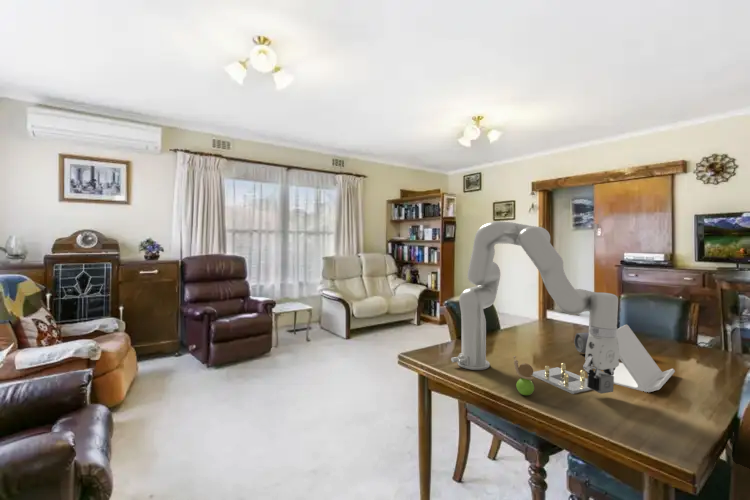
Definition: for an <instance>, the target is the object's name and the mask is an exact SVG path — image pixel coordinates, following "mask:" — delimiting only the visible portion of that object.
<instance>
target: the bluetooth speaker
mask: <svg viewBox="0 0 750 500" xmlns="http://www.w3.org/2000/svg"><path fill="white" fill-rule="evenodd" d="M588 336H589V332H577V333H575V336H574V340H573V343H574V346H575V349H576V351H577V352H579V353H583V354H586V346H587V340H588Z"/></svg>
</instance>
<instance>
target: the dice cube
mask: <svg viewBox="0 0 750 500" xmlns="http://www.w3.org/2000/svg"><path fill="white" fill-rule="evenodd" d="M593 371H594V373H595V370H593ZM598 378H599V390H598V391H596V390H594V389H592V388H590V389H592V390H593V391H594V392H597V394H598V393H599V394H608V393H613V392H614V385H615V384H614V376H612V375H609V374H607V373H605V372H604V371H603V370H600V371H599V374H598ZM587 379H589V375H587ZM587 387H588V381H587ZM588 388H589V387H588ZM592 390H591V391H592Z"/></svg>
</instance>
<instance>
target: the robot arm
mask: <svg viewBox="0 0 750 500" xmlns="http://www.w3.org/2000/svg"><path fill="white" fill-rule="evenodd" d="M498 244H500V245H501V244H502V245H503V244H507V245H509V244H510V245H515V246H520V247H521V248H522V249H523V251H524V252H525V253H526V255H527V256H528V258H529V259H530V260H531V262H532V263H533V265H534V266H535V267H536V269H537V270H538V272H539V273H540V277H541V280H542V283H543V284H544V287H545V289H546V291H547V293H548V294H549V295H550V297H551V299H553V301H554V302H555V304H556V305H557V306H558V308H559V309H560V310H561V311H563V313H565V314H567V315H569V316H576V315H580V314H582V313H584V312H589V315H588V316H589V319H588V321H589V323H588V333H589V336H588V340H587V346H586V353H585V356H584V358H585V359H584V360H585V361H584V364H583V366H582V368H583V370H585V373H587V376H588V375H589V379H588V378H587V379H588V387H589V388H592V389H594V390H596V391H598V390H599V378H598V374H599V371H603V372H605V373H607V374H609V375H614V370H615V368H616V367H618V366H619V363H620V358H619V343H618V338H617V329H618V316H619V315H618V313H619V312H618V309H619V298H618V296H617V295H616V294H614V293H610V292H595V291H591V290H586V289H582V288H575V287H574V286H573V285H572V283H571V282H570V281H569V279H568V277H567V275H566V273H565V271H564V270H565V269H564V260H563V258H562V256H561V255H560V254H559V252H558V251H557V249H555V247H554V246H553V245H552V243H551V235H550V232H549V231H548V230H547V229H545V227H540V226H534V225H528V224H523V223H516V222H509V221H503V220H502V221H499V220H498V221H497V220H495V221H491V222H488V223H485V224H483V225H482V226H480V227H479V228H478V229H477V231H476V233H475V236H474V240H473V246H472V251H471V254H470V255H471V256H470V260H469V265H468V271H467V279H468V281H469V282H470V284H472V285H475V286H472V287H471V286H470V287H469V288H465V289H464V290H463V291H462V292H461V293H460V295H459V300H458V301H459V309H460V314H461V315H460V317H461V325H460V326H461V352H460V353H459V354H458V356H454V357H451V358H450V360H451V363H457V365H458V366H459V367H461V368H463V369H466V370H470V371H482V370H483V371H484V370H487V369H489V368H490V367H491V363H490V362H489V360H487V357H486V355H487V354H486V353H487V349H486V348H487V344H486V343H487V340H486V339H487V321H486V315H485V312H484V310H485V309H486V308H489V307H491V306H492V305H493V304H494V303H495V300H496V297H497V294H498V289H499V284H500V281H501V269H500V267H499V265H498V264H497V263H496V262H495V261H494V258H495V254H496V253H495V251H496V250H495V246H496V245H498ZM593 369H594V370H593ZM594 371H595V373H594ZM594 390H593V391H594ZM596 391H595V392H596Z"/></svg>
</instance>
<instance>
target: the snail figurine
mask: <svg viewBox="0 0 750 500" xmlns="http://www.w3.org/2000/svg"><path fill="white" fill-rule="evenodd" d="M516 358H517V356H516V355H514V356H513V364H514V369H515V372H516V374H517V376H519V377H520V378H519V379H517V381H516V384H515V386H516V389H517V392H518V393H519V394H521V395H522V396H530V395H532V394H533V393H534V391H535V385H534V383H533V381H532V379H534V376H532V374H533V372H534V368H533V367H532V366H531V365H530V364H529V363H525V362H524V363H521V364H520V365H519V361H518V360H517V359H516Z"/></svg>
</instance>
